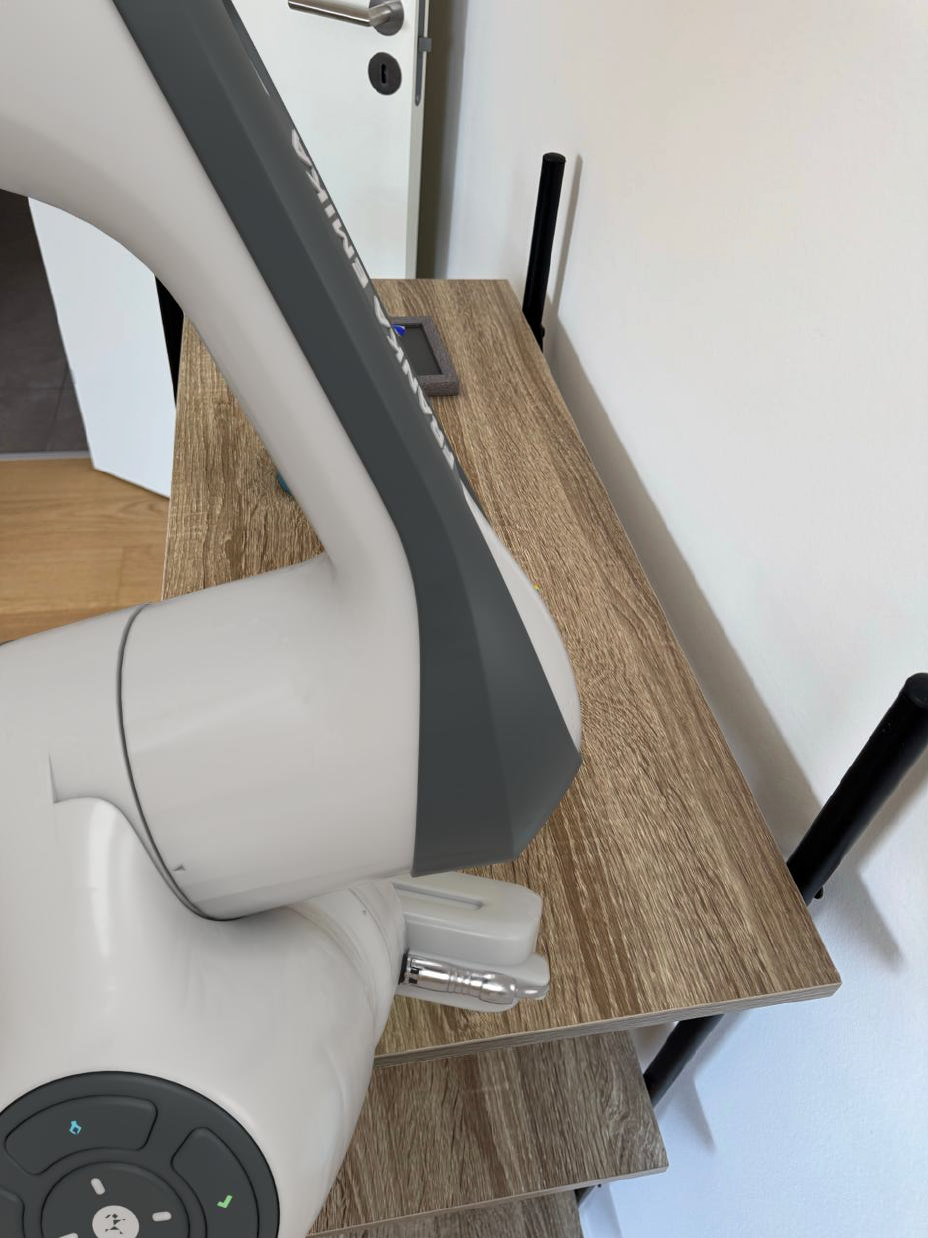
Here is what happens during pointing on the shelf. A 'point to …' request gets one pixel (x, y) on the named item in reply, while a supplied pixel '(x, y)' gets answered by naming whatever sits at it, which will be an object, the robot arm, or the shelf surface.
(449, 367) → the picture frame
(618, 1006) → the shelf surface
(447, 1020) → the shelf surface
